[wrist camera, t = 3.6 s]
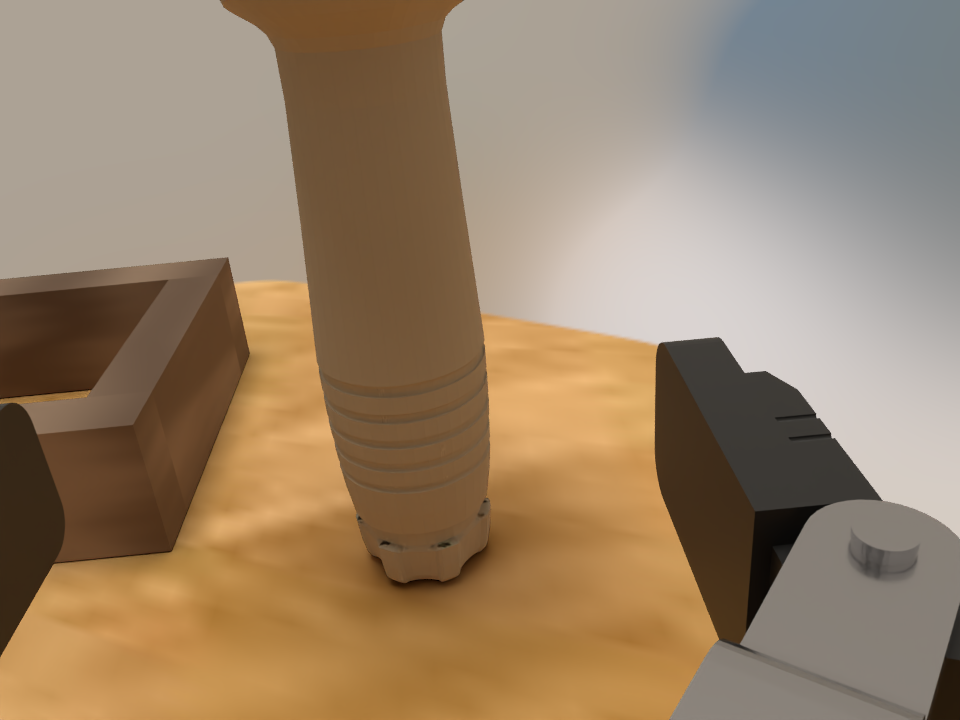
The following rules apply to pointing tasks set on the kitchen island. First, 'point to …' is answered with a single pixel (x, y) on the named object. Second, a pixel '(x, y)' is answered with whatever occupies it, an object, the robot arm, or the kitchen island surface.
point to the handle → (388, 271)
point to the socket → (124, 391)
